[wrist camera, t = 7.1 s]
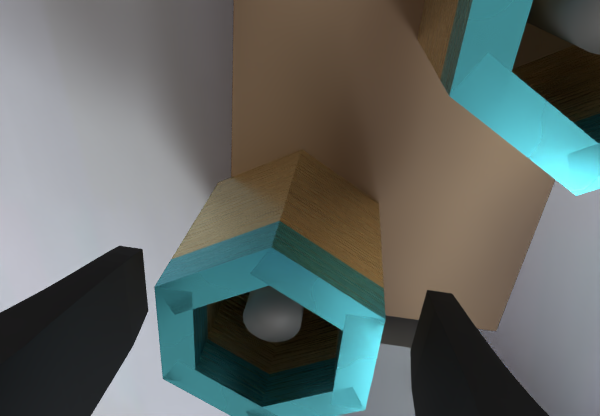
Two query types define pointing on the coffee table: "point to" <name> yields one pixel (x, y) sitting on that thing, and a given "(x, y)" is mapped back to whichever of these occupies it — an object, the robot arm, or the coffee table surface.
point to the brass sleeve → (286, 279)
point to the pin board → (394, 143)
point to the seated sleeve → (519, 85)
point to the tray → (392, 371)
